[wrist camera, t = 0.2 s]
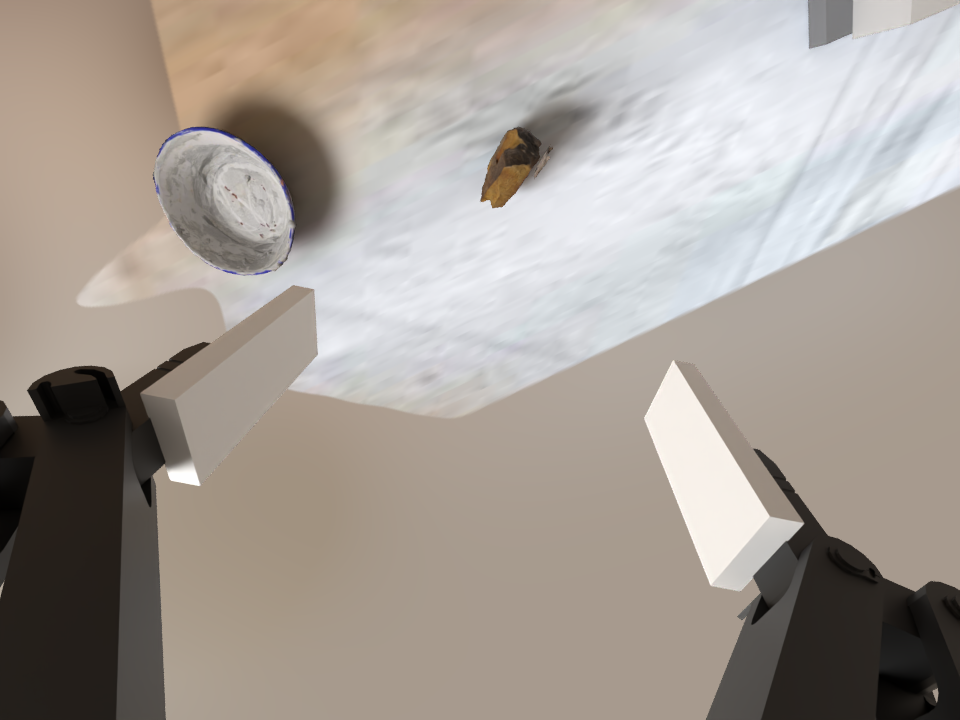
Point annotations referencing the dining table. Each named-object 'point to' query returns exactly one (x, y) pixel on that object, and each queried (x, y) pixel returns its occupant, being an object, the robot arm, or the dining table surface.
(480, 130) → the dining table surface
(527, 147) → the rock
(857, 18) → the white plug holder
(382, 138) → the dining table surface
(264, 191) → the bowl
